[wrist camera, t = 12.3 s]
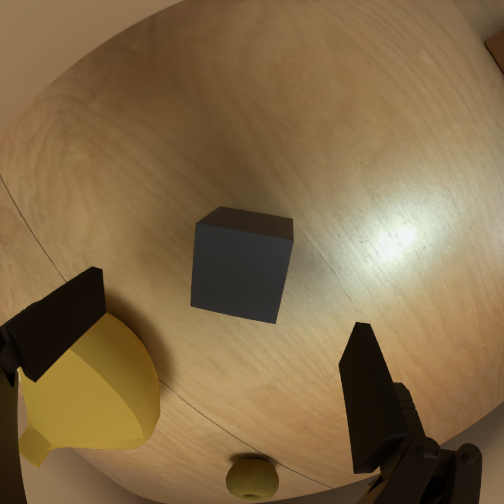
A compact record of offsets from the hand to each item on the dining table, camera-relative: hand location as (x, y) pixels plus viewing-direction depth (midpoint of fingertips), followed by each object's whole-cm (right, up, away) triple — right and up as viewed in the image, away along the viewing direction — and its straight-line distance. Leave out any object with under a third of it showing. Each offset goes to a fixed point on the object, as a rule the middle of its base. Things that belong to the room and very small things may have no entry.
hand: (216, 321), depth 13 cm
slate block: (+2, +4, +10) cm, 11 cm away
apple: (+2, -30, +22) cm, 37 cm away
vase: (-16, -8, +17) cm, 24 cm away
